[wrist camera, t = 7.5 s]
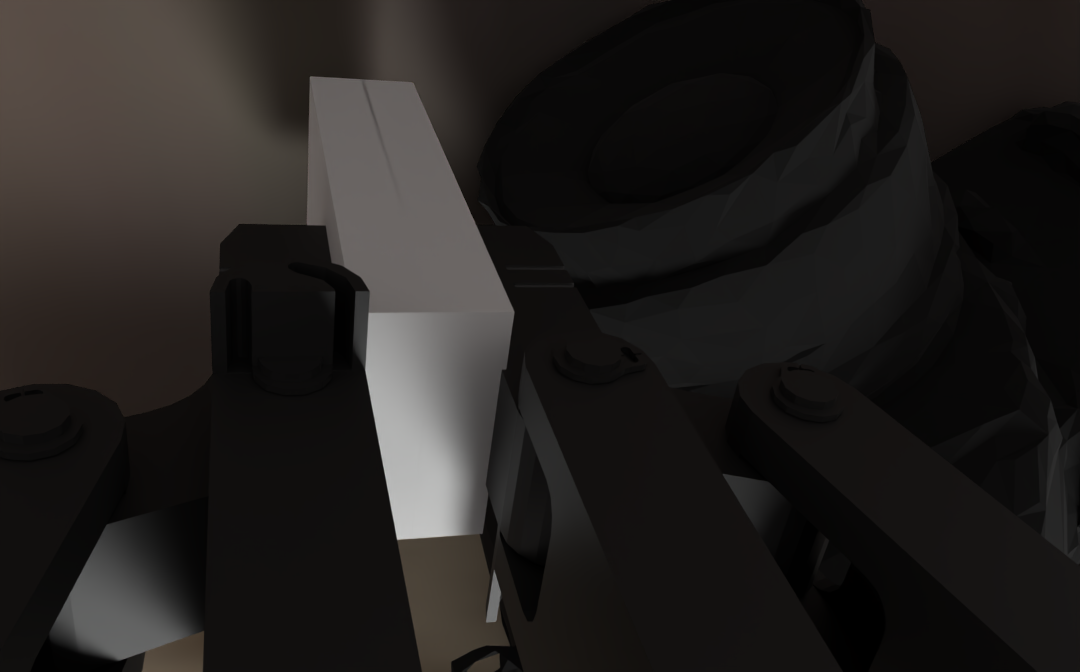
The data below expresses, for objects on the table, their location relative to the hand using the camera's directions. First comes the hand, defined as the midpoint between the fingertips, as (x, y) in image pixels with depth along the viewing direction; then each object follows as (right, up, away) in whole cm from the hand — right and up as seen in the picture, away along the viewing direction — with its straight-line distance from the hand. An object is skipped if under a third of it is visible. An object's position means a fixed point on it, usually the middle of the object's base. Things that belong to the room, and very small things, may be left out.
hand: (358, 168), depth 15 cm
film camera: (+6, 0, +4) cm, 7 cm away
